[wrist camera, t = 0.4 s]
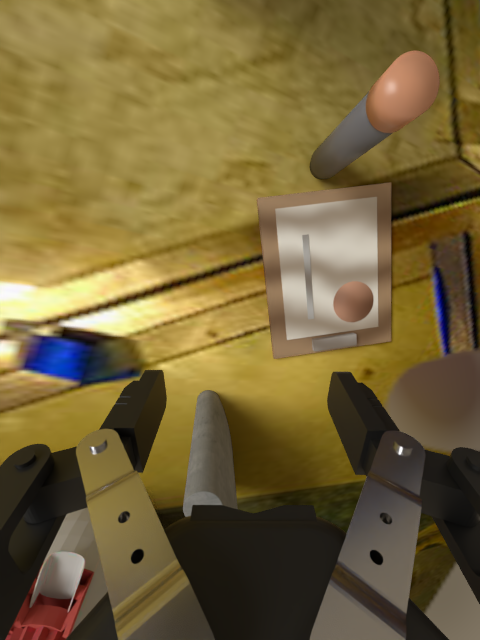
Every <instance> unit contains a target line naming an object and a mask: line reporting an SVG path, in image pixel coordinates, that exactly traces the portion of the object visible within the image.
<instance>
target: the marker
mask: <svg viewBox="0 0 480 640" xmlns="http://www.w3.org/2000/svg"><path fill="white" fill-rule="evenodd" d="M438 89H439V72H438V69H437V66H436V64H435V62H434V61H433V59H432V58H431V57H430V56H429V55H427V54H426V53H424V52H421V51H409V52H406V53H404V54H402V55H401V56H399V57H398V58H397V59H396V60H395V61H394V62H393V63H392V64H391V66H390V67H389V68H388V69H387V70H386V71H385V72H384V73H383V75H382V76H381V77H380V78H379V79H378V80H377V81H376V82H375V83H374V85H373V86H372V87H371V89H370V91H369V92H368V93H367V94H366V95H365V97H364V98H363V99H362V100H361V101H360V102H359V103H358V104H357V105H356V106H355V108H354V109H353V110H352V111H351V112H350V113H349V114H348V115H347V116H346V117H345V119H344V120H343V121H342V122H341V123H340V124H339V125H338V126H337V127H336V128H335V130H334V131H333V132H332V133H331V134H330V135H329V136H328V137H327V138H326V139H325V141H324V142H323V143H322V144H321V145H320V146H319V147H318V148H317V149H316V151H315V152H314V153H313V155H312V158H311V162H310V171H311V173H312V174H313V176H314V177H316V178H318V179H327V178H330V177H332V176H334V175H335V174H336V173H338V172H339V171H341V170H342V169H343V168H345V167H346V166H348V165H349V164H350V163H352V162H353V161H354V160H356V159H357V158H359V157H360V156H361V155H363V154H364V153H366V152H367V151H368V150H370V149H371V148H373V147H374V146H375V145H377V144H378V143H379V142H381V141H382V140H384V139H385V138H386V137H388V136H389V135H391V134H392V133H393V132H396V131H398V130H400V129H401V128H403V127H404V126H405V125H407V124H408V123H410V122H411V121H412V120H414V119H415V118H417V117H418V116H419V115H421V114H422V113H424V112H425V111H426V110H427V109H428V108H429V107H430V106H431V105H432V103H433V102H434V100H435V98H436V96H437V93H438Z"/></svg>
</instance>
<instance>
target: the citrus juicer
mask: <svg viewBox="0 0 480 640" xmlns="http://www.w3.org/2000/svg"><path fill="white" fill-rule="evenodd" d="M107 592H108V590H107V586H106V582H105V578H104V573H103V569H102V565H101V561H100V557H99V552H98V548H97V544H96V540H95V536H94V532H93V527H92V523H91V519H90V515H89V511H88V508H84V509H81V510H78V511H75V512H72V513H69V514H67V515H66V517H65V519H64V521H63V523H62V525H61V527H60V529H59V531H58V533H57V535H56V537H55V539H54V541H53V543H52V545H51V548H50V550H49V552H48V554H47V556H46V558H45V560H44V562H43V564H42V566H41V568H40V570H39V572H38V574H37V576H36V578H35V580H34V582H33V584H32V586H31V588H30V590H29V592H28V595H27V597H26V599H25V601H24V603H23V605H22V607H21V609H20V611H19V613H18V615H17V617H16V619H15V621H14V623H13V625H12V627H11V629H10V631H9V633H8V635H7V637H6V639H5V640H65V639H66V638H67V637H68V636H69V635H70V634H71V632H72V631H73V630H74V629H75V628H76V627H77V626H78V625H79V623H80V622H81V621H82V620H83V619H84V618H85V617H86V615H87V614H88V613H89V612H90V611H91V610H92V609H93V608H94V606H95V605H96V604H97V603H98V602H99V601H100V600H101V599H102V597H103V596H104V595H105V594H106V593H107Z"/></svg>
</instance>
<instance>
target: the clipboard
mask: <svg viewBox="0 0 480 640" xmlns="http://www.w3.org/2000/svg"><path fill="white" fill-rule="evenodd" d="M257 205H258V215H259V225H260V234H261V244H262V254H263V263H264V273H265V282H266V292H267V302H268V311H269V321H270V331H271V340H272V350H273V357H274V359H277V358H283V357H290V356H297V355H303V354H310V353H316V352H323V351H330V350H336V349H343V348H349V347H356V346H363V345H369V344H376V343H382V342H389V341H391V183H382V184H374V185H365V186H356V187H348V188H339V189H331V190H322V191H314V192H305V193H297V194H288V195H280V196H271V197H262V198H258V199H257Z"/></svg>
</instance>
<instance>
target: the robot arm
mask: <svg viewBox="0 0 480 640" xmlns="http://www.w3.org/2000/svg"><path fill="white" fill-rule="evenodd" d="M166 399H167V398H166V389H165V381H164V374H163V371H162V370H145V372H144V373H143V375H142V377H141V379H140V381H132V382H131V383H130V384H129V385H128V386H126V387H125V388H124V390H123V391H122V393H121V395H120V398H118V400H117V401H116V404H115V405H114V406H113V408H112V410H111V411H110V413H109V414H108V416H107V418H106V419H105V421H104V423H103V424H102V426H101V428H100V429H99V430H97V431H94V432H92V433H90V434H88V435H87V436H86V437H84V438H83V439H82V440H81V441H80V442H79V444H78V446H77V447H73V448H70V449H66V450H62V451H58V452H54V453H51V451H50V449H49V447H48V446H47V445H44V444H34V445H30V446H27V447H24V448H22V449H20V450H18V451H16V452H15V453H13V454H12V455H11V456H9V457H8V458H7V459H6V460H5V461H4V462H3V464H2V465H1V466H0V640H5V639H6V637H7V635H8V633H9V631H10V629H11V627H12V625H13V623H14V621H15V619H16V617H17V615H18V613H19V611H20V609H21V607H22V605H23V603H24V601H25V599H26V597H27V595H28V592H29V590H30V588H31V586H32V584H33V582H34V580H35V578H36V576H37V574H38V572H39V570H40V568H41V566H42V564H43V562H44V560H45V558H46V556H47V554H48V552H49V550H50V548H51V545H52V543H53V541H54V539H55V537H56V535H57V533H58V531H59V529H60V527H61V525H62V523H63V521H64V519H65V517H66V515H67V514H69V513H72V512H75V511H78V510H81V509H84V508H88V511H89V515H90V519H91V523H92V527H93V532H94V536H95V540H96V544H97V548H98V552H99V557H100V561H101V565H102V569H103V573H104V578H105V582H106V586H107V590H108V592H107V593H106V594H105V595H104V596H103V597H102V599H101V600H100V601H99V602H98V603H97V604H96V605H95V606H94V608H93V609H92V610H91V611H90V612H89V613H88V614H87V615H86V617H85V618H84V619H83V620H82V621H81V622H80V623H79V625H78V626H77V627H76V628H75V629H74V630H73V631H72V632H71V634H70V635H69V636H68V637H67V638H66V639H65V640H449V639H448V638H447V637H446V636H445V635H444V634H443V633H442V632H441V631H440V630H439V629H438V628H437V627H436V626H435V625H434V624H433V622H432V621H431V620H430V619H429V618H428V617H427V616H426V615H425V614H424V613H423V612H422V611H421V610H420V609H419V608H418V607H417V606H416V605H415V604H414V603H413V602H412V601H411V600H410V598H409V592H410V584H411V577H412V570H413V563H414V556H415V549H416V542H417V535H418V528H419V521H420V514H421V513H424V514H427V515H430V516H432V518H433V520H434V521H435V523H436V525H437V527H438V529H439V531H440V532H441V534H442V536H443V538H444V540H445V542H446V543H447V545H448V547H449V549H450V551H451V553H452V554H453V556H454V558H455V560H456V562H457V564H458V565H459V567H460V569H461V571H462V573H463V575H464V576H465V578H466V580H467V582H468V584H469V586H470V587H471V589H472V591H473V593H474V595H475V596H476V598H477V600H478V602H479V604H480V452H478V451H475V450H473V449H469V448H463V447H459V448H456V449H454V450H453V451H452V453H451V455H450V456H447V455H443V454H439V453H435V452H431V451H428V450H425V449H424V448H423V446H422V445H421V444H420V443H419V442H418V441H417V440H416V439H415V438H413V437H412V436H410V435H408V434H406V433H403V432H400V431H399V429H398V428H397V426H396V425H395V423H394V422H393V420H392V419H391V417H390V416H389V415H388V413H387V412H386V410H385V409H384V407H382V404H381V403H380V401H379V400H377V397H376V396H375V394H374V393H373V391H372V390H371V389H370V388H368V387H367V386H366V385H364V384H363V383H357V381H356V380H355V378H354V377H353V375H352V373H351V372H333V373H332V376H331V381H330V387H329V393H328V399H327V403H328V409H329V412H330V415H331V417H332V420H333V422H334V424H335V427H336V429H337V432H338V434H339V436H340V439H341V441H342V444H343V446H344V448H345V451H346V453H347V456H348V458H349V460H350V463H351V465H352V468H353V470H354V472H355V475H366V476H367V478H366V481H365V484H364V487H363V490H362V492H361V495H360V498H359V501H358V504H357V506H356V509H355V512H354V515H353V518H352V521H351V523H350V526H349V529H348V532H347V534H346V533H345V532H344V531H343V530H342V529H340V528H339V527H337V526H336V525H334V524H332V523H331V522H329V521H327V520H324V519H322V518H319V517H316V514H315V510H314V506H312V505H283V506H280V507H276V508H273V509H269V510H266V511H262V512H259V513H248V512H245V511H241V510H238V509H234V508H231V507H227V506H224V505H192V512H191V516H188V517H185V518H183V519H180V520H178V521H176V522H175V523H173V524H171V525H170V526H168V527H167V528H166V529H163V527H162V525H161V523H160V520H159V518H158V516H157V514H156V512H155V509H154V507H153V505H152V503H151V500H150V498H149V496H148V494H147V492H146V489H145V487H144V485H143V483H142V480H141V478H140V476H139V474H138V472H143V471H144V468H145V465H146V462H147V459H148V457H149V454H150V451H151V448H152V445H153V442H154V440H155V437H156V434H157V431H158V428H159V425H160V423H161V420H162V417H163V414H164V411H165V408H166Z"/></svg>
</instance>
